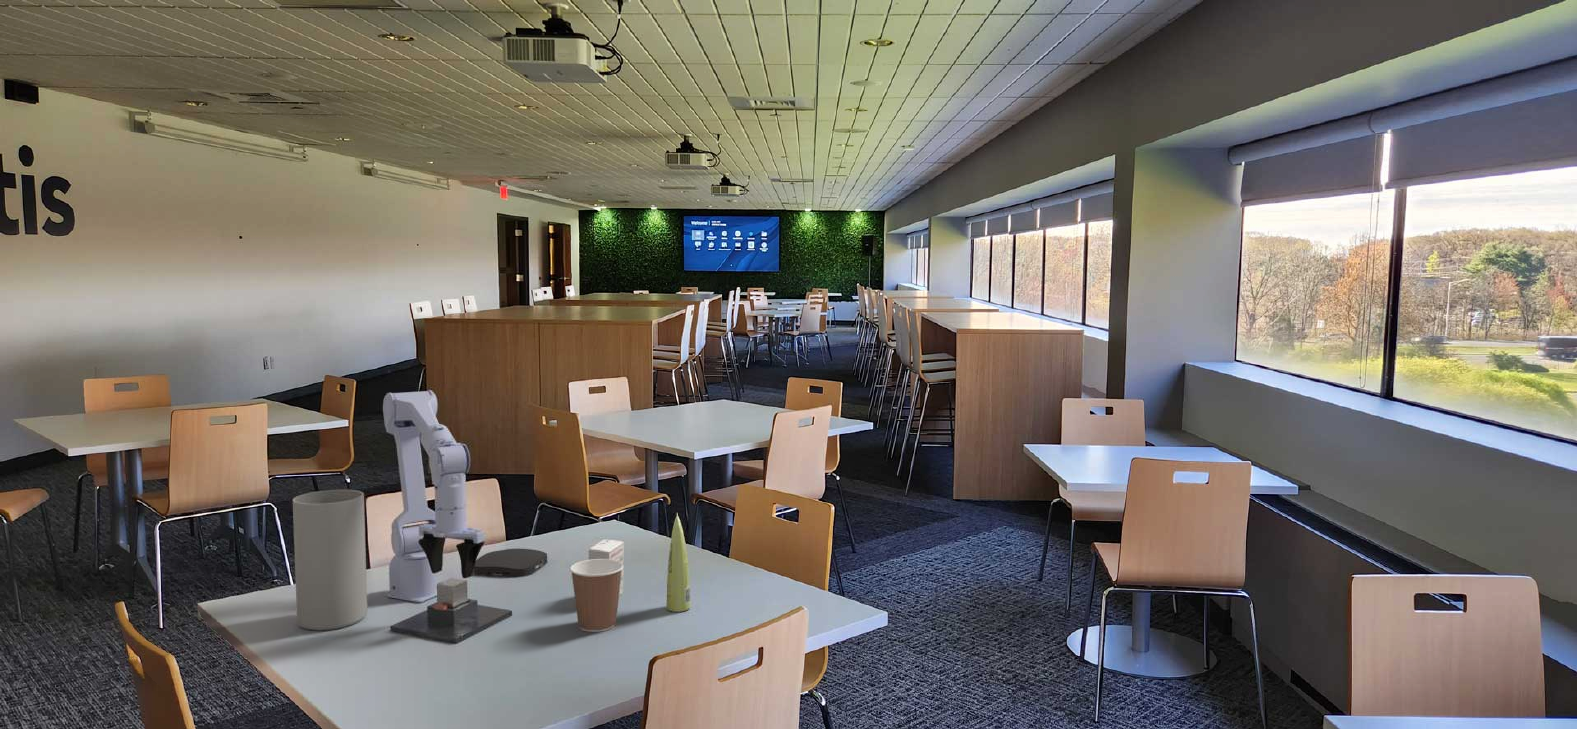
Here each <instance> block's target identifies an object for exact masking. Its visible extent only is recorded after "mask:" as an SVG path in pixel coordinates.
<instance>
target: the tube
mask: <svg viewBox="0 0 1577 729" xmlns="http://www.w3.org/2000/svg"><path fill="white" fill-rule="evenodd" d="M668 553H669V554H668V562H667V577H666V578H667V579H666V580H667V581H666V610H668V611H670V612H673V613H679V612H685V611H687V610H689V609H690V608H691V591H690V590H691V588H690V574H689V573H690V572H689V570H690V569H689V560H688V552H687V546H686V540H685V536H684V530H683V526H682V523H681V520H680V517H679V516H678V512H676V516H675V519H674V521H673V527H672V532H671V538H670V546H669V552H668Z"/></svg>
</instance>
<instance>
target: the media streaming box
mask: <svg viewBox="0 0 1577 729" xmlns="http://www.w3.org/2000/svg"><path fill="white" fill-rule="evenodd" d="M547 564H548V553H546V552H545V551H541V550H536V549H532V548H506V549H499V550H495V551H494V550H493V551H490V552H487V553H484V554H482V555H481V556H479V557H477V559H476V562H475V566H474V570H473V574H475V575H478V576H483V577H485V576H486V577H487V576H488V577H502V578H503V577H505V578H522V577H527V576H530V575H533V574H534V573H536V572H537V571H539V570H540V569H542V568H543V567H544V566H546V565H547Z"/></svg>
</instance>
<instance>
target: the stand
mask: <svg viewBox="0 0 1577 729" xmlns="http://www.w3.org/2000/svg"><path fill="white" fill-rule="evenodd" d="M511 616H513V610H510V609H505V608H500V607H499V608H498V607H494V606H493V607H492V606H487V605H482V604H478V600H477V599H471V598H468V603H466V604H464V605H462V606H460V607H457V608H455V609H449V608H447V606H446V605H441V604H437V601H436V602H434V603H432V604H430V605H427V607H426V610H423V611H422V612H419V613H417V614H414V615H413V616H410V617H409V618H408V617H407V618H406V619H402V620H401V621H398V622H396V623H394V624H392V625H390V632H393V633H397V634H403V635H410V636H413V637H419V638H425V639H430V640H435V641H440V642H445V643H451V644H459V643H461V642H463V641H464V640H467V639H469V638H470V637H473V636H475V635H477V634H478V633H481V632H482V631H484V630H487V629H489V628H490V627H492V626H494V625H497V624H499V623H501V622H502V621H504V620H506V619H507V618H510V617H511Z"/></svg>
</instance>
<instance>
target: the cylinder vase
mask: <svg viewBox="0 0 1577 729" xmlns="http://www.w3.org/2000/svg"><path fill="white" fill-rule="evenodd" d="M292 515H293V516H292V519H293V523H292V524H293V546H294V568H295V570H294V572H295V573H294V576H295V597H296V598H295V600H296V622H297V624H298V626H299V627H300V628H302V629H305V630H309V631H330V630H336V629H343V628H346V627H349V626H352V625H355V624H357V623H359V622H361V621H362V620H363V619H364V618H366V616H367V614H368V591H367V590H368V589H367V584H368V583H367V559H366V557H367V556H366V522H365V520H366V519H365V517H366V516H365V493H364V492H362V491H360V490H354V489H330V490H329V489H328V490H327V489H326V490H319V491H313V492H308V493H304V494H301V495H297V496H295V497H294V498H292Z"/></svg>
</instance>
